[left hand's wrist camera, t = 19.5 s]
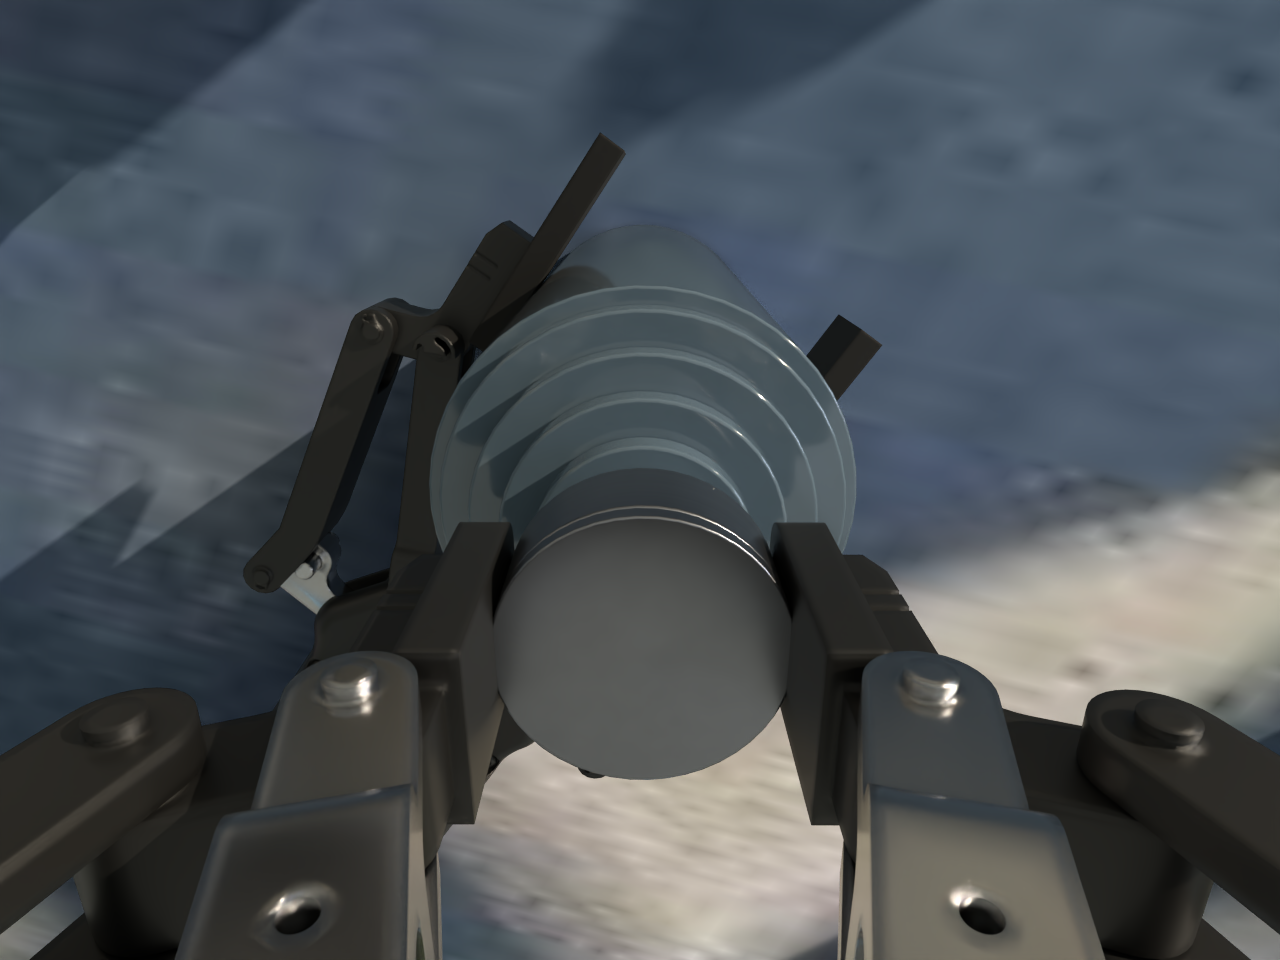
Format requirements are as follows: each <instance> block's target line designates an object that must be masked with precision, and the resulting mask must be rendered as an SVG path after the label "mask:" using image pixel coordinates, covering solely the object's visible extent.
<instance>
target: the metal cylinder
mask: <svg viewBox="0 0 1280 960" xmlns="http://www.w3.org/2000/svg"><path fill="white" fill-rule="evenodd" d="M791 626H792V613H791V610H790V608H789V605H788V602H787V599H786V596H785V593H784V590H783V587H782V584H781V581H780V578H779V575H778V572H777V569H776V567H775V564H774V561H773V558H772V555H771V552H770V549H769V547H768V544H767V542H766V540H765V538H764V536H763V534H762V532H761V530H760V529H759V527H758V526H757V524H756V523H755V522H754V520H753V519H752V518H751V516H750V515H749V514H748V513H747V512H746V511H745V510H744V509H743V508H742V507H741V506H740V505H739V504H738V503H737V502H736V501H735V500H733V499H732V498H731V497H729V496H728V495H727V494H726V493H724V492H723V491H721V490H719V489H718V488H716V487H714V486H712V485H711V484H709V483H707V482H704V481H702V480H700V479H697V478H695V477H693V476H689V475H686V474H682V473H679V472H675V471H669V470H663V469H656V468H632V469H622V470H615V471H611V472H607V473H602V474H599V475H596V476H593V477H590V478H588V479H585V480H583V481H581V482H579V483H577V484H575V485H573V486H571V487H569V488H567V489H566V490H564V491H563V492H561V493H560V494H558V495H557V496H555V497H554V498H553V499H552V500H550V501H549V502H548V503H547V504H546V505H545V506H544V507H543V508H542V509H541V510H540V511H539V512H538V513H537V514H536V515H535V517H534V518H533V519H532V520H531V521H530V523H529V524H528V526H527V527H526V529H525V531H524V532H523V534H522V535H521V537H520V540H519V542H518V544H517V546H516V549H515V551H514V554H513V557H512V560H511V563H510V566H509V569H508V572H507V575H506V578H505V582H504V585H503V588H502V591H501V594H500V597H499V600H498V603H497V606H496V609H495V613H494V617H493V632H494V645H495V658H496V672H497V685H498V693H499V695H500V697H501V699H502V701H503V703H504V705H505V707H506V709H507V711H508V712H509V713H510V715H511V716H512V717H513V719H514V720H515V722H516V723H517V724H518V725H519V727H520V728H521V729H522V730H523V731H524V732H525V733H526V734H527V735H528V736H529V737H530V738H531V739H532V740H534V741H535V742H536V743H537V744H538V745H540V746H541V747H542V748H543V749H545V750H546V751H548V752H549V753H551V754H553V755H554V756H556V757H557V758H559V759H561V760H563V761H565V762H567V763H569V764H571V765H573V766H575V767H578V768H581V769H584V770H587V771H589V772H592V773H596V774H600V775H605V776H609V777H615V778H623V779H637V780H651V779H663V778H670V777H676V776H681V775H686V774H689V773H692V772H696V771H699V770H702V769H705V768H707V767H709V766H712V765H714V764H716V763H719V762H721V761H722V760H724V759H726V758H728V757H729V756H731V755H733V754H735V753H736V752H738V751H739V750H740V749H742V748H743V747H744V746H746V745H747V744H748V743H750V742H751V741H752V740H753V739H754V738H755V737H756V736H757V735H758V734H759V733H760V732H761V731H762V730H763V729H764V728H765V727H766V726H767V724H768V723H769V722H770V721H771V719H772V718H773V717H774V716H775V714H776V712H777V711H778V709H779V707H780V706H781V704H782V702H783V701H784V698H785V696H786V690H787V678H788V665H789V652H790V639H791Z"/></svg>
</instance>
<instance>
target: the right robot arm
mask: <svg viewBox="0 0 1280 960" xmlns="http://www.w3.org/2000/svg"><path fill="white" fill-rule="evenodd" d="M625 155H626V153H625V151H624V150H623V149H621V148H620V147H619V146H617V145H616V144H615V143H613V142H612V141H611V140H609V139H608V138H607V137H606V136H604V135H603V134H602V133H600V134H599V135H598V137H597V138H596V140H595V141H594V143H593V145H592V146H591V148H590V149H589V151H588V153H587V154H586V156H585V157H584V159H583V160H582V162H581V164H580V165H579V167H578V168H577V170H576V172H575V173H574V175H573V176H572V178H571V180H570V181H569V183H568V184H567V186H566V187H565V189H564V191H563V192H562V194H561V195H560V197H559V199H558V200H557V202H556V203H555V205H554V206H553V208H552V210H551V211H550V213H549V214H548V216H547V218H546V219H545V221H544V222H543V224H542V226H541V227H540V229H539V230H538V232H537V233H536V235H535V237H533V236H531V235H530V234H528V233H527V232H526V231H524V230H523V229H521V228H520V227H518V226H517V225H516V224H514V223H513V222H511V221H510V220H509V221H506V222H503V223H501V224H499V225H498V226H497V227H495V228H494V229H492V230H491V231H490V232H488V233H487V234H486V235H485V237H484V238H483V240H482V242H481V243H480V245H479V247H478V248H477V250H476V252H475V253H474V255H473V256H472V258H471V260H470V261H469V263H468V265H467V266H466V268H465V269H464V271H463V273H462V274H461V276H460V278H459V279H458V281H457V283H456V284H455V286H454V288H453V289H452V291H451V292H450V294H449V296H448V297H447V299H446V301H445V302H444V304H443V305H442V307H441V308H440V309H433V310H431V309H425V308H421V307H417V306H413V305H410V304H408V303H407V302H406V301H404V300H403V299H399V298H389V299H386V300H384V301H382V302H379V303H377V304H375V305H373V306H371V307H369V308H367V309H364V310H362V311H361V312H359V313H358V314H356V315H355V316H354V318H353V320H352V321H351V324H350V327H349V329H348V332H347V335H346V338H345V341H344V344H343V347H342V350H341V352H340V355H339V358H338V361H337V364H336V367H335V370H334V373H333V376H332V378H331V381H330V384H329V387H328V390H327V393H326V396H325V399H324V402H323V404H322V407H321V410H320V413H319V416H318V419H317V422H316V425H315V428H314V430H313V433H312V436H311V439H310V442H309V445H308V448H307V451H306V453H305V456H304V459H303V462H302V465H301V468H300V471H299V474H298V477H297V479H296V482H295V485H294V488H293V491H292V494H291V497H290V500H289V503H288V505H287V508H286V511H285V514H284V517H283V520H282V523H281V526H280V528H279V529H278V531H277V532H276V533H275V534H274V535H273V536H272V537H271V538H270V539H269V540H268V541H267V542H266V543H265V544H264V546H263V547H262V548H261V549H260V550H259V551H258V552H257V553H256V554H255V555H254V556H253V557H252V558H251V560H250V561H249V562H248V563H247V564H246V566H245V568H244V572H243V576H244V579H245V581H246V583H247V584H248V585H249V586H250V587H251V588H252V589H254V590H256V591H257V592H262V593H270V592H274V591H275V590H277V589H278V588H279V587H282V588H283V589H284V590H286V591H287V592H288V593H289V594H291V595H292V596H293V597H295V598H296V599H297V600H298V601H300V602H301V603H302V604H304V605H305V606H306V607H307V608H309V609H310V610H311V611H313V612H314V613H315V614H316V618H315V623H314V631H315V641H314V646H313V649H312V651H311V652H310V654H309V655H308V657H307V658H306V660H305V662H304V663H303V665H302V666H301V668H300V669H299V671H298V672H297V674H296V675H298V674H299V673H300V672H302V671H303V670H305V669H306V668H308V667H310V666H311V665H313V664H316V663H318V662H320V661H322V660H325V659H328V658H331V657H334V656H337V655H341V654H345V653H348V652H349V650H350V648H351V647H352V645H353V644H354V642H355V640H356V639H357V637H358V635H359V634H360V632H361V630H362V629H363V627H364V625H365V624H366V622H367V621H368V619H369V617H370V616H371V614H372V612H373V611H374V610H376V606H377V604H378V602H379V601H380V599H381V598H382V596H383V594H386V589H387V588H388V586H389V584H390V583H391V581H392V579H393V578H394V576H395V575H396V573H397V571H398V570H400V569H401V568H403V567H404V566H406V565H407V564H409V563H410V562H412V561H413V560H415V559H416V558H418V557H419V556H421V555H422V554H443V552H442V549H441V546H440V543H439V541H438V538H437V535H436V531H435V526H434V521H433V517H432V512H431V504H430V489H429V477H430V464H431V454H432V450H433V445H434V441H435V436H436V432H437V429H438V426H439V423H440V421H441V418H442V415H443V413H444V410H445V408H446V405H447V403H448V401H449V400H450V398H451V396H452V394H453V392H454V390H455V389H456V387H457V385H458V383H459V381H460V380H461V379H462V377H463V376H464V375H465V373H466V372H467V371H468V369H469V368H470V367H471V365H472V364H473V363H474V357H475V349H476V347H477V348H478V349H480V350H481V351H484V350H485V349H486V347H487V346H488V345H489V344H490V343H491V342H492V341H493V339H494V338H495V337H496V336H497V335H498V334H499V333H500V331H501V330H502V329H503V328H504V327H505V326H506V325H507V323H508V322H509V321H510V320H511V319H512V318H513V317H514V316H515V314H516V313H517V312H518V311H519V310H520V309H521V308H522V306H523V305H524V304H525V303H526V302H527V301H528V300H529V298H530V297H531V296H532V295H533V294H534V293H535V292H536V290H537V289H538V288H539V287H540V286H541V285H542V283H543V282H544V280H545V279H546V277H547V276H548V274H549V272H550V271H551V269H552V268H553V266H554V265H555V263H556V262H557V260H558V258H559V257H560V255H561V254H562V252H563V251H564V249H565V248H566V246H567V245H568V243H569V241H570V240H571V238H572V237H573V235H574V234H575V232H576V231H577V229H578V228H579V226H580V224H581V223H582V221H583V220H584V218H585V217H586V215H587V214H588V212H589V210H590V209H591V207H592V206H593V204H594V203H595V201H596V200H597V198H598V197H599V195H600V193H601V192H602V190H603V189H604V187H605V186H606V184H607V183H608V181H609V180H610V178H611V176H612V175H613V173H614V172H615V170H616V169H617V167H618V166H619V164H620V162H621V161H622V159H623V158H624V156H625ZM881 346H882V345H881V344H880V343H879V342H877V341H876V340H875V339H874V338H872V337H871V336H870V335H868V334H867V333H866V332H864V331H863V330H862V329H860V328H859V327H857V326H855V325H854V324H852V323H851V322H849V321H848V320H846V319H845V318H843V317H842V316H840V315H838V316H837V317H836V319H835V320H834V321H833V322H832V324H831V325H830V326H829V328H828V329H827V330H826V331H825V333H824V334H823V335H822V337H821V338H820V339H819V340H818V342H817V343H816V344H815V345H814V347H813V348H812V349H811V351H810V352H809V353H808V354H807V358H808V359H809V360H810V361H811V362H812V363H813V364H814V366H815V367H816V368H817V369H818V370H819V372H820V373H821V375H822V377H823V378H824V380H825V381H826V383H827V384H828V386H829V387H830V389H831V390H832V392H833V394H834V396H835V398H836V400H838V399H839V398H840V397H841V395H842V394H843V393H844V392H845V391H846V389H847V388H848V387H849V386H850V384H851V383H852V382H853V381H854V379H855V378H856V377H857V376H858V374H859V373H860V372H861V371H862V369H863V368H864V367H865V366H866V365H867V363H868V362H869V361H870V360H871V358H872V357H873V356H874V355H875V353H876V352H877V351H878V350H879V348H880V347H881ZM403 356H405V357H409V358H413V359H417V360H416V370H415V379H414V388H413V397H412V406H411V415H410V425H409V434H408V443H407V452H406V461H405V470H404V479H403V489H402V498H401V507H400V516H399V525H398V534H397V541H396V545H395V548H394V551H393V554H392V559H391V564H390V568H388V569H385V570H382V571H379V572H376V573H372V574H369V575H366V576H363V577H360V578H357V579H354V580H351V581H348V582H345V583H344V582H343V581H342V580H341V579H340V578H339V576H338V574H337V570H336V566H337V562H338V560H339V558H340V556H341V546H340V544H339V538H338V536H337V535H336V534H334V533H332V532H330V531H331V530H332V529H333V528H334V526H335V525H336V524H337V523H338V521H339V520H340V518H341V516H342V515H343V513H344V511H345V509H346V507H347V505H348V503H349V500H350V498H351V495H352V492H353V490H354V487H355V484H356V482H357V479H358V476H359V474H360V471H361V468H362V465H363V463H364V460H365V457H366V455H367V452H368V449H369V447H370V444H371V441H372V439H373V436H374V433H375V431H376V428H377V425H378V423H379V420H380V417H381V415H382V412H383V409H384V407H385V404H386V401H387V399H388V396H389V393H390V391H391V388H392V385H393V383H394V380H395V377H396V375H397V372H398V369H399V367H400V364H401V361H402V359H403ZM296 675H295V676H296ZM279 702H280V700H279ZM279 702H278V703H277V705H276V706H275V708H274V709H273V711H274V710H277V709H278V706H279ZM533 742H534V740H532V739H531V738H530V737H529V736H528V735H527V734H526V733H525V732H524V731H523V730H522V729H521V728H520V727H519V725H518V724H517V723H516V722H515V720H514V719H513V717H512V716H511V715H510V713H509V712H508V711H507V709H506V707H505V705H504V709H503V713H502V717H501V721H500V725H499V729H498V733H497V736H496V740H495V744H494V748H493V752H492V756H491V760H490V764H489V768H488V772H487V776H486V780H485V783H486V781H487V780H488V779H489V778H490V776H491V775H492V774H493V772H494V771H495V769H496V768H497V767H498V765H499V764H500V763H501V761H502V760H503V759H504V758H505V757H507V756H508V755H509V754H511V753H513V752H515V751H517V750H519V749H522V748H524V747H527V746H529V745H530V744H532V743H533ZM578 769H579V771H580V772H581V773H582V774H583V775H585V776H587V777H589V778H594V779H595V778H602V777H604V776H605V775H600V774H596V773H592V772H589V771H587V770H584V769H581V768H578ZM452 825H453V824H446V828H445V831H444V834H443V836H444V835H445V833H446V832H447V831H448V830H449V828H450V827H451V826H452Z"/></svg>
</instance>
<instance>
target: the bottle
mask: <svg viewBox="0 0 1280 960" xmlns="http://www.w3.org/2000/svg"><path fill="white" fill-rule="evenodd" d="M632 468H656V469H663V470H669V471H675V472H679V473H682V474H686V475H689V476H693V477H695V478H697V479H700V480H702V481H704V482H707V483H709V484H711V485H712V486H714V487H716V488H718V489H719V490H721V491H723V492H724V493H726V494H727V495H728V496H729V497H731V498H732V499H733V500H735V501H736V502H737V503H738V504H739V505H740V506H741V507H742V508H743V509H744V510H745V511H746V512H747V513H748V514H749V515H750V516H751V518H752V519H753V520H754V522H755V523H756V524H757V526H758V527H759V529H760V530H761V532H762V534H763V536H764V538H765V540H766V542H767V544H768V547H769V549H770V537H771V530H772V526H773V524H774V523H775V522H824V523H826V525H827V527H828V528H829V530H830V532H831V534H832V536H833V538H834V540H835V542H836V544H837V545H838V547H839V549H840V551H841V553H843V551H844V549H845V546H846V543H847V540H848V536H849V533H850V529H851V525H852V522H853V516H854V508H855V501H856V465H855V459H854V452H853V445H852V441H851V437H850V434H849V431H848V427H847V424H846V421H845V417H844V415H843V413H842V411H841V409H840V407H839V405H838V402H837V400H836V398H835V396H834V394H833V392H832V390H831V389H830V387H829V386H828V384H827V383H826V381H825V380H824V378H823V377H822V375H821V373H820V372H819V370H818V369H817V368H816V367H815V366H814V364H813V363H812V362H811V361H810V360H809V359H808V358H807V356H806V355H805V354H804V353H803V352H802V351H801V350H800V348H799V347H798V346H797V345H796V344H795V343H794V342H793V340H792V339H791V338H790V337H789V336H788V335H787V334H786V332H785V331H784V330H783V329H782V328H781V327H780V326H779V325H778V323H777V322H776V321H775V320H774V319H773V318H772V317H771V315H770V314H769V313H768V312H767V311H766V310H765V309H764V307H763V306H762V305H761V304H760V303H759V302H758V301H757V299H756V298H755V297H754V296H753V295H752V294H751V293H750V292H749V290H748V289H747V288H746V287H745V286H744V285H743V284H742V282H741V281H740V280H739V279H738V278H737V277H736V276H735V274H734V273H733V272H732V271H731V270H730V269H729V268H728V267H727V265H726V264H725V263H724V262H723V261H722V260H721V259H720V257H719V256H718V255H717V254H715V253H714V252H713V251H712V250H711V249H710V248H709V247H707V246H706V245H704V244H703V243H701V242H700V241H698V240H697V239H695V238H693V237H691V236H689V235H687V234H685V233H683V232H680V231H677V230H673V229H670V228H666V227H661V226H655V225H632V226H624V227H620V228H615V229H611V230H608V231H606V232H603V233H601V234H598V235H596V236H594V237H592V238H591V239H589V240H587V241H585V242H584V243H582V244H581V245H580V246H578V247H577V248H576V249H574V250H573V251H572V252H571V253H570V254H569V255H568V256H567V257H566V258H565V259H564V260H563V261H562V262H561V263H560V264H559V265H558V267H557V268H556V269H555V270H554V271H553V272H552V273H551V275H550V276H549V277H548V278H547V279H546V280H545V281H544V283H543V284H542V285H541V286H540V287H539V288H538V289H537V290H536V292H535V293H534V294H533V295H532V296H531V297H530V298H529V300H528V301H527V302H526V303H525V304H524V305H523V306H522V308H521V309H520V310H519V311H518V312H517V313H516V314H515V316H514V317H513V318H512V319H511V320H510V321H509V322H508V323H507V325H506V326H505V327H504V328H503V329H502V330H501V331H500V333H499V334H498V335H497V336H496V337H495V338H494V339H493V341H492V342H491V343H490V344H489V345H488V346H487V347H486V349H485V350H484V351H483V352H482V353H481V354H480V355H479V356H478V358H477V359H476V360H475V361H474V363H473V364H472V365H471V367H470V368H469V369H468V371H467V372H466V373H465V375H464V376H463V377H462V379H461V380H460V381H459V383H458V385H457V387H456V389H455V390H454V392H453V394H452V396H451V398H450V400H449V401H448V403H447V405H446V408H445V410H444V413H443V415H442V418H441V421H440V423H439V426H438V429H437V432H436V436H435V441H434V445H433V450H432V454H431V464H430V477H429V489H430V504H431V512H432V517H433V521H434V526H435V531H436V535H437V538H438V541H439V543H440V546H441V549H442V552H444V550H445V548H446V546H447V544H448V542H449V541H450V539H451V537H452V535H453V533H454V531H455V529H456V527H457V525H458V524H459V523H460V522H510V523H511V525H512V529H513V536H514V550H515V549H516V546H517V544H518V542H519V540H520V537H521V535H522V534H523V532H524V531H525V529H526V527H527V526H528V524H529V523H530V521H531V520H532V519H533V518H534V517H535V515H536V514H537V513H538V512H539V511H540V510H541V509H542V508H543V507H544V506H545V505H546V504H547V503H548V502H549V501H550V500H552V499H553V498H554V497H555V496H557V495H558V494H560V493H561V492H563V491H564V490H566V489H567V488H569V487H571V486H573V485H575V484H577V483H579V482H581V481H583V480H585V479H588V478H590V477H593V476H596V475H599V474H602V473H607V472H611V471H615V470H622V469H632Z"/></svg>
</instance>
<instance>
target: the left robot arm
mask: <svg viewBox="0 0 1280 960" xmlns="http://www.w3.org/2000/svg"><path fill="white" fill-rule="evenodd" d="M514 551H515V550H514V536H513V529H512V525H511V523H510V522H460V523H459V524H458V525H457V527H456V529H455V531H454V533H453V535H452V537H451V539H450V541H449V542H448V544H447V546H446V548H445V550H444V552H443V554H422V555H421V556H419V557H418V558H416V559H415V560H413V561H412V562H410V563H409V564H407V565H406V566H404V567H403V568H401V569H400V570H398V571H397V573H396V575H395V576H394V578H393V579H392V581H391V583H390V584H389V586H388V588H387V589H386V594H383V596H382V598H381V599H380V601H379V602H378V604H377V606H376V610H374V611H373V612H372V614H371V616H370V617H369V619H368V621H367V622H366V624H365V625H364V627H363V629H362V630H361V632H360V634H359V635H358V637H357V639H356V640H355V642H354V644H353V645H352V647H351V648H350V650H349V652H348V653H345V654H341V655H337V656H334V657H331V658H328V659H325V660H322V661H320V662H318V663H316V664H313V665H311V666H310V667H308V668H306V669H305V670H303V671H302V672H300V673H299V674H298V675H296V676H295V677H294V678H293V679H292V680H291V681H290V682H289V683H288V684H287V686H286V687H285V689H284V690H283V693H282V695H281V698H280V702H279V706H278V709H277V710H274V711H271V712H267V713H263V714H259V715H255V716H249V717H244V718H239V719H234V720H229V721H224V722H219V723H214V724H209V725H204V726H201V722H200V718H199V714H198V709H197V706H196V703H195V701H194V700H193V698H192V697H191V696H189V695H188V694H186V693H184V692H182V691H179V690H175V689H169V688H144V689H137V690H131V691H126V692H122V693H117V694H114V695H111V696H107V697H104V698H102V699H99V700H96V701H94V702H91V703H89V704H87V705H85V706H83V707H80V708H78V709H77V710H75V711H73V712H71V713H69V714H68V715H66V716H64V717H63V718H61V719H59V720H58V721H56V722H55V723H53V724H51V725H50V726H48V727H46V728H45V729H43V730H42V731H40V732H38V733H37V734H35V735H33V736H32V737H30V738H28V739H27V740H25V741H24V742H22V743H20V744H19V745H17V746H15V747H14V748H12V749H11V750H9V751H7V752H6V753H4V754H2V755H1V756H0V934H1V933H3V932H4V931H5V930H6V929H8V928H9V927H10V926H11V925H13V924H14V923H15V922H16V921H18V920H19V919H20V918H21V917H23V916H24V915H25V914H26V913H28V912H29V911H30V910H31V909H33V908H34V907H35V906H36V905H38V904H39V903H40V902H41V901H43V900H44V899H45V898H46V897H48V896H49V895H50V894H51V893H53V892H54V891H55V890H56V889H58V888H59V887H60V886H61V885H63V884H64V883H65V882H66V881H68V880H69V879H70V878H71V877H73V878H74V881H75V884H76V887H77V890H78V893H79V897H80V900H81V903H82V906H83V909H84V912H85V913H84V914H82V915H81V916H80V917H79V918H78V919H76V920H75V921H74V922H73V923H72V924H71V925H69V926H68V927H67V928H66V929H65V930H64V931H62V932H61V933H60V934H59V935H58V936H57V937H55V938H54V939H53V940H52V941H51V942H50V943H48V944H47V945H46V946H45V947H44V948H43V949H41V950H40V951H39V952H38V953H37V954H35V955H34V956H33V957H32V958H31V959H30V960H442V927H441V891H440V868H439V859H438V849H439V847H440V844H441V841H442V838H443V834H444V831H445V828H446V824H474V823H475V819H476V815H477V811H478V807H479V803H480V799H481V796H482V792H483V788H484V784H485V780H486V776H487V772H488V768H489V764H490V760H491V756H492V752H493V748H494V744H495V740H496V736H497V733H498V729H499V725H500V721H501V717H502V713H503V709H504V703H503V701H502V699H501V697H500V695H499V693H498V685H497V672H496V658H495V645H494V632H493V617H494V613H495V609H496V606H497V603H498V600H499V597H500V594H501V591H502V588H503V585H504V582H505V578H506V575H507V572H508V569H509V566H510V563H511V560H512V557H513V554H514ZM770 552H771V555H772V558H773V561H774V564H775V567H776V569H777V572H778V575H779V578H780V581H781V584H782V587H783V590H784V593H785V596H786V599H787V602H788V605H789V608H790V610H791V613H792V626H791V639H790V652H789V665H788V678H787V690H786V696H785V698H784V701H783V702H782V704H781V706H780V708H781V711H782V715H783V719H784V723H785V727H786V731H787V734H788V738H789V742H790V746H791V750H792V753H793V757H794V761H795V765H796V769H797V773H798V776H799V780H800V784H801V788H802V792H803V795H804V799H805V803H806V807H807V811H808V815H809V818H810V822H811V825H840V829H841V832H842V835H843V839H844V842H843V850H842V859H841V868H840V891H839V928H838V960H1250V959H1249V958H1248V957H1247V956H1246V955H1245V954H1243V953H1242V952H1241V951H1240V950H1239V949H1237V948H1236V947H1235V946H1234V945H1233V944H1232V943H1230V942H1229V941H1228V940H1227V939H1226V938H1225V937H1223V936H1222V935H1221V934H1220V933H1219V932H1218V931H1216V930H1215V929H1214V928H1213V927H1212V926H1211V925H1209V924H1208V923H1207V922H1206V921H1205V920H1204V919H1202V916H1203V913H1204V909H1205V906H1206V903H1207V900H1208V897H1209V894H1210V891H1211V888H1212V885H1213V882H1215V883H1216V884H1217V885H1219V886H1220V887H1221V888H1222V889H1224V890H1225V891H1226V892H1227V893H1229V894H1230V895H1231V896H1232V897H1234V898H1235V899H1236V900H1237V901H1239V902H1240V903H1241V904H1242V905H1244V906H1245V907H1246V908H1247V909H1249V910H1250V911H1251V912H1252V913H1254V914H1255V915H1256V916H1257V917H1259V918H1260V919H1261V920H1262V921H1264V922H1265V923H1266V924H1267V925H1269V926H1270V927H1271V928H1272V929H1274V930H1275V931H1276V932H1277V933H1279V934H1280V756H1279V755H1278V754H1276V753H1274V752H1273V751H1271V750H1270V749H1268V748H1266V747H1265V746H1263V745H1261V744H1260V743H1258V742H1256V741H1255V740H1253V739H1252V738H1250V737H1248V736H1247V735H1245V734H1243V733H1242V732H1240V731H1238V730H1237V729H1235V728H1234V727H1232V726H1230V725H1229V724H1227V723H1225V722H1224V721H1222V720H1221V719H1219V718H1217V717H1216V716H1214V715H1212V714H1210V713H1208V712H1207V711H1205V710H1203V709H1201V708H1198V707H1196V706H1194V705H1192V704H1189V703H1187V702H1184V701H1181V700H1179V699H1176V698H1172V697H1169V696H1166V695H1162V694H1157V693H1153V692H1146V691H1139V690H1114V691H1109V692H1104V693H1102V694H1099V695H1097V696H1095V697H1094V698H1092V699H1091V701H1090V702H1089V703H1088V705H1087V708H1086V712H1085V716H1084V720H1083V725H1082V726H1078V725H1073V724H1068V723H1063V722H1058V721H1053V720H1048V719H1043V718H1038V717H1032V716H1028V715H1024V714H1019V713H1016V712H1013V711H1009V710H1006V709H1003V708H1002V706H1001V702H1000V698H999V695H998V693H997V690H996V689H995V687H994V686H993V684H992V683H991V682H990V681H989V680H988V679H987V678H986V677H985V676H984V675H982V674H981V673H980V672H978V671H977V670H975V669H974V668H972V667H970V666H969V665H967V664H964V663H962V662H960V661H958V660H955V659H952V658H949V657H946V656H943V655H939V654H938V653H937V651H936V650H935V648H934V646H933V645H932V643H931V642H930V640H929V638H928V637H927V635H926V634H925V632H924V630H923V629H922V627H921V625H920V624H919V622H918V621H917V619H916V617H915V616H914V614H913V613H912V611H909V606H908V605H907V603H906V601H905V600H904V598H903V596H902V595H901V594H899V590H898V588H897V587H896V585H895V584H894V582H893V580H892V579H891V577H890V576H889V574H888V572H887V571H886V570H884V569H883V568H881V567H880V566H878V565H877V564H875V563H874V562H872V561H871V560H869V559H868V558H866V557H865V556H863V555H842V553H841V551H840V549H839V547H838V545H837V544H836V542H835V540H834V538H833V536H832V534H831V532H830V530H829V528H828V527H827V525H826V523H824V522H775V523H774V524H773V526H772V530H771V537H770Z"/></svg>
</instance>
